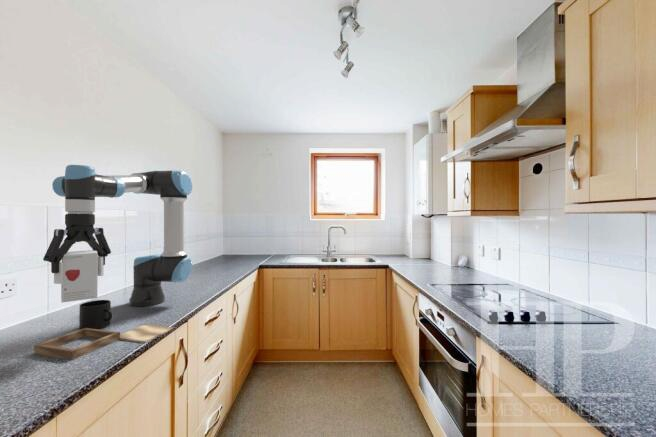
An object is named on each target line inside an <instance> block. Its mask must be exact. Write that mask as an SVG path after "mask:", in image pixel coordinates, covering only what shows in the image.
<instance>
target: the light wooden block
mask: <svg viewBox="0 0 656 437" xmlns="http://www.w3.org/2000/svg"><path fill="white" fill-rule="evenodd" d="M174 329H175V327H173V326H163V325H155V324H148V323H147V324H146V323H145V324H144V325H141V326H138V327H135V328H133V329H131V330H128V331H125V332H124V333H120V339H119V340H118V341H120V340H121V341H128V342H134V343H135V342H136V343H143V344H146V343H148V342H150V341H152V340H154V339H157V338H158V337H161V336H163V335H165V334H167V333H169V332H171V331H173V330H174Z"/></svg>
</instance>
